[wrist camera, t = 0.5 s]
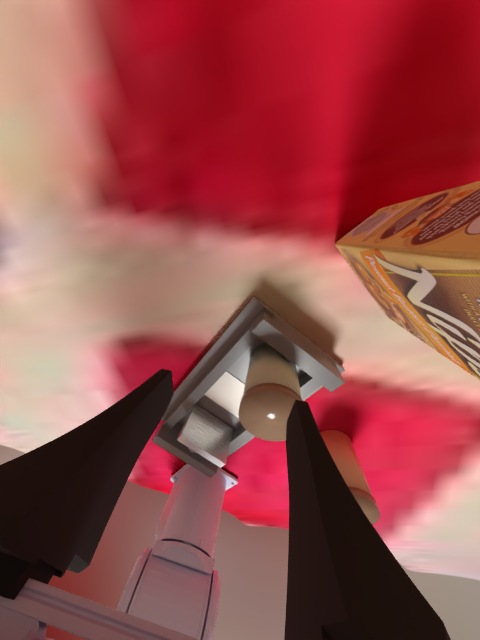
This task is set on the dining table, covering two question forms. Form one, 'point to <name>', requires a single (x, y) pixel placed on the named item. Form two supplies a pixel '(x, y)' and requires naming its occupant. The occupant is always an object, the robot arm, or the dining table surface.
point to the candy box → (426, 269)
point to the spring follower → (206, 436)
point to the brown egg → (268, 394)
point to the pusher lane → (241, 378)
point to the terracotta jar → (351, 471)
